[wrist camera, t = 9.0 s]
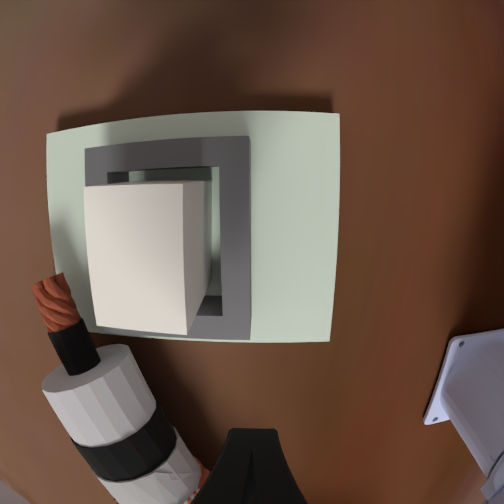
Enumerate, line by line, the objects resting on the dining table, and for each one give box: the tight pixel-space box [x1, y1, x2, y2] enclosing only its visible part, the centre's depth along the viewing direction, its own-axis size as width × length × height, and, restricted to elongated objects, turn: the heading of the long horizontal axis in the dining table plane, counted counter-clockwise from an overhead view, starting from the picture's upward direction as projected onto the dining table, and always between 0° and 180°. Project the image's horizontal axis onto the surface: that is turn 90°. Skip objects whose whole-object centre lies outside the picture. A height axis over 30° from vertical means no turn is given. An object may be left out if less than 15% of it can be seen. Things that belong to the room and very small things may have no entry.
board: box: [47, 111, 340, 342], centre depth 15 cm, size 16×12×4 cm
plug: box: [84, 180, 212, 335], centre depth 13 cm, size 4×5×6 cm
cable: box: [31, 272, 210, 504], centre depth 17 cm, size 10×34×10 cm, turn 16°
